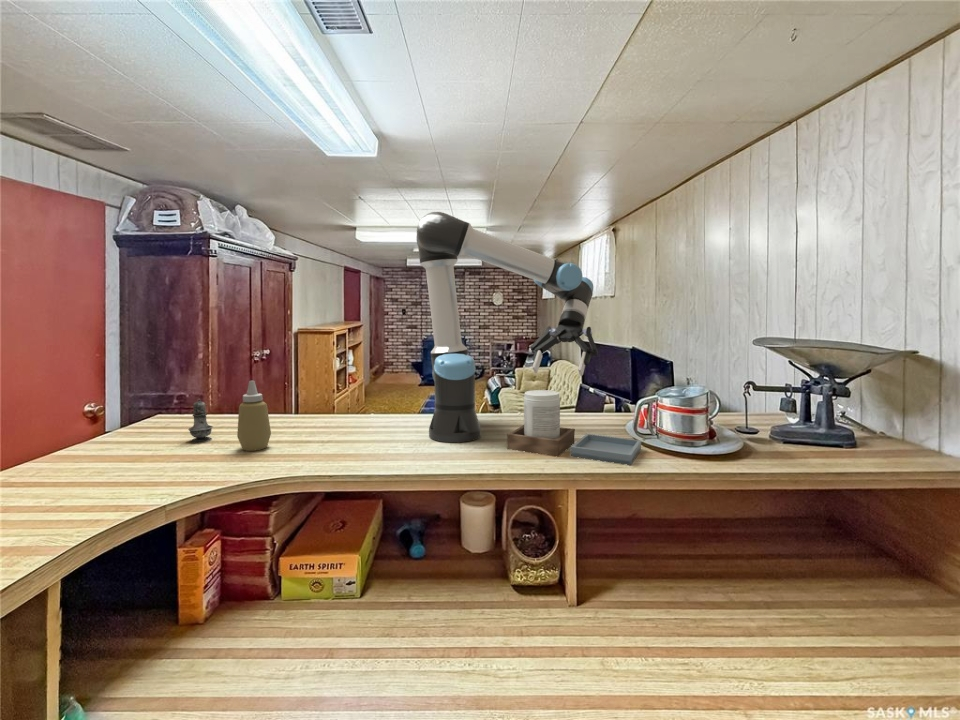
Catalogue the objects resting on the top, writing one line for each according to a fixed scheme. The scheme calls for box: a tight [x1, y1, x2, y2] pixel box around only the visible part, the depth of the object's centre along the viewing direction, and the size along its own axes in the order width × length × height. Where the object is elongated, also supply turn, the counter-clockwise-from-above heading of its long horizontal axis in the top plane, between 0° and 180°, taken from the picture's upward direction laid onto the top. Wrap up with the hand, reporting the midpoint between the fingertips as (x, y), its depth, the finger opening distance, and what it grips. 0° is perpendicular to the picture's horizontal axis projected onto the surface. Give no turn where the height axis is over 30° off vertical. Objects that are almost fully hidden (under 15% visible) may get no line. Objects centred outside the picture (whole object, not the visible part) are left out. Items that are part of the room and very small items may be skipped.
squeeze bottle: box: [236, 380, 272, 452], centre depth 125 cm, size 8×8×18 cm
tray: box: [570, 433, 642, 466], centre depth 122 cm, size 15×15×2 cm
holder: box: [506, 424, 576, 458], centre depth 128 cm, size 14×14×4 cm
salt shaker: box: [187, 398, 214, 444], centre depth 132 cm, size 6×6×12 cm
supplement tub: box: [523, 389, 561, 440], centre depth 127 cm, size 10×10×15 cm
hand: (556, 371), depth 136 cm, fingers open, 13 cm apart
